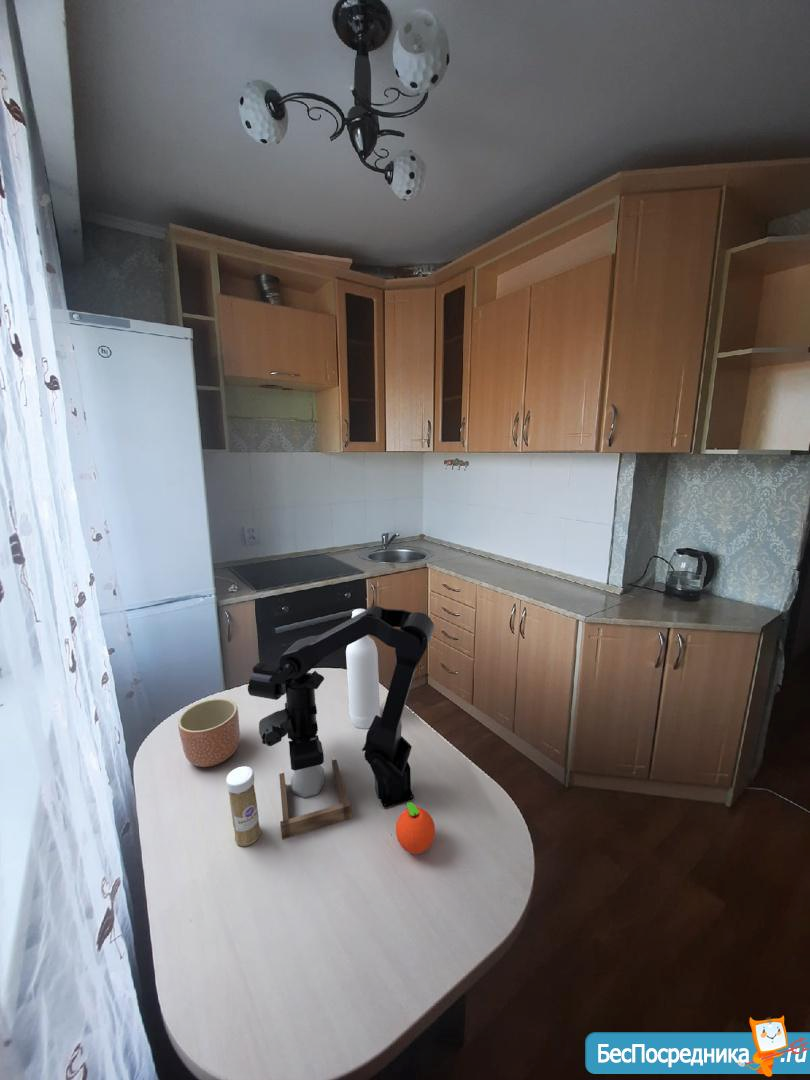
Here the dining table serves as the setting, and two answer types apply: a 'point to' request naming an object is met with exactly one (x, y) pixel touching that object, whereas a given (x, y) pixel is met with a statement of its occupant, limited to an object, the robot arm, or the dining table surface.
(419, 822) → the clementine
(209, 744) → the planter
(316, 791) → the flask
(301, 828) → the bay
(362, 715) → the bottle
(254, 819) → the sprinkles bottle
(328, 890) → the dining table surface
